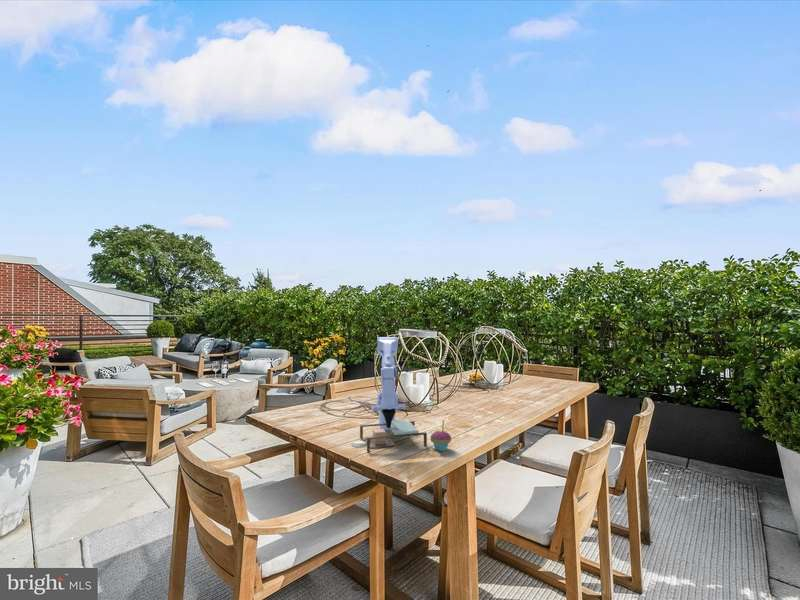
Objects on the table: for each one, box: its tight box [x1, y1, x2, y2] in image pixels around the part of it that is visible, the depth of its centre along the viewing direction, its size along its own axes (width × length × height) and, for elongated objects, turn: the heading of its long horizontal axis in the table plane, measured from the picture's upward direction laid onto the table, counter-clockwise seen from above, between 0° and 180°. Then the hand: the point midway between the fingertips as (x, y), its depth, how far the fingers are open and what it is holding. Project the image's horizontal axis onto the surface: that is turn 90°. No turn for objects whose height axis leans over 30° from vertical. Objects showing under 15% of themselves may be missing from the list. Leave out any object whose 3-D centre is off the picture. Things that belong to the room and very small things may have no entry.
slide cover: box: [390, 418, 420, 435], centre depth 166 cm, size 17×10×1 cm, turn 15°
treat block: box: [372, 428, 387, 445], centre depth 164 cm, size 4×4×5 cm
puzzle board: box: [350, 420, 428, 452], centre depth 165 cm, size 18×30×6 cm, turn 105°
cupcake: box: [430, 418, 452, 452], centre depth 159 cm, size 9×8×12 cm
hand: (388, 427), depth 165 cm, fingers closed
